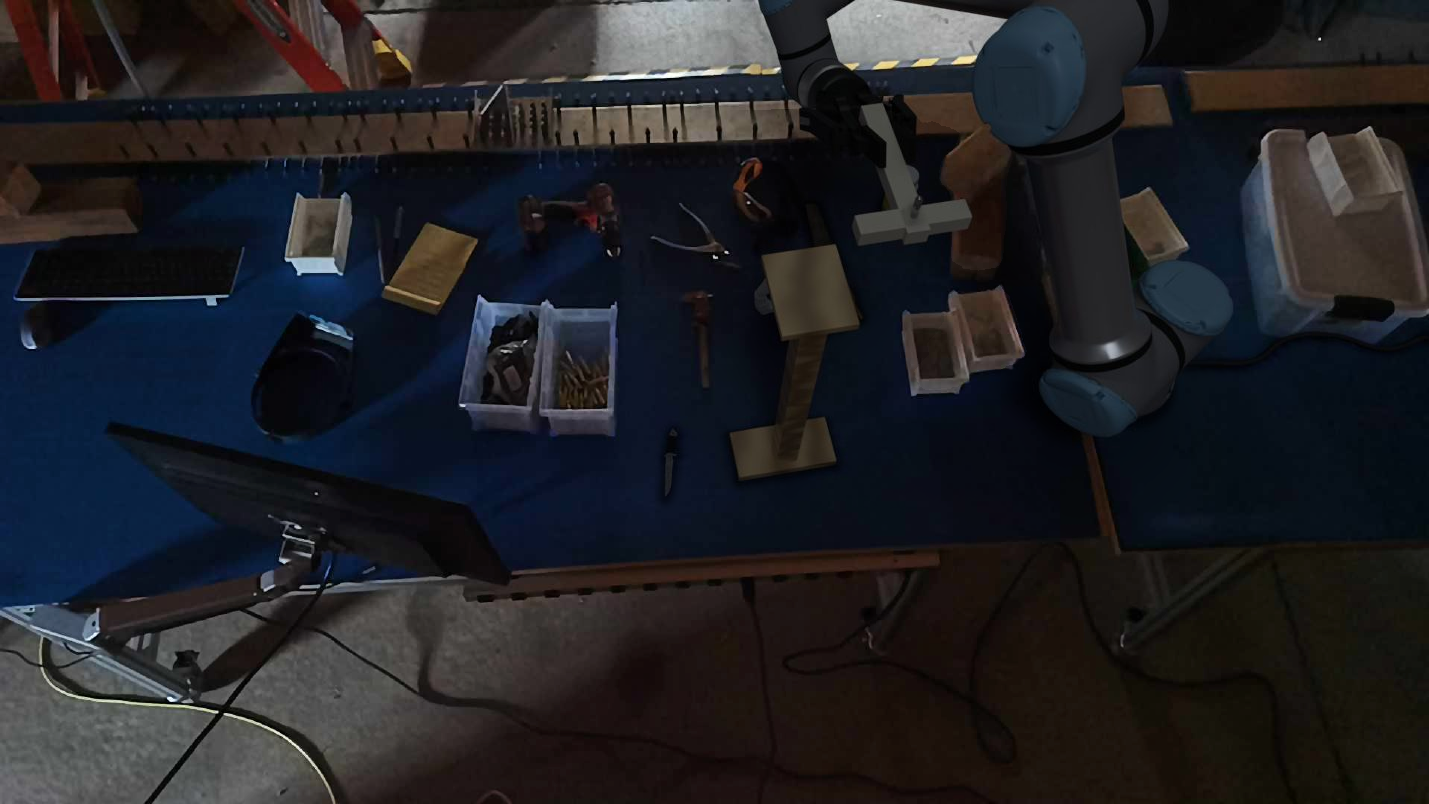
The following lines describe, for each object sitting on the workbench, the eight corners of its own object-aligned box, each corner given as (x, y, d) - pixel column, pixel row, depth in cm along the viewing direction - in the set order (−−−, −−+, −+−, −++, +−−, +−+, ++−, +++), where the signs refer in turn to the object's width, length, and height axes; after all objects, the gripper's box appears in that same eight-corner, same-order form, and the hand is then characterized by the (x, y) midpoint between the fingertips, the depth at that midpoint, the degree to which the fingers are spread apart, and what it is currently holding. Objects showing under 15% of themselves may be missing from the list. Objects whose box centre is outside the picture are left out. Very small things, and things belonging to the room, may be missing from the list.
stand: (819, 405, 127) (863, 239, 91) (836, 468, 122) (889, 319, 86) (726, 421, 125) (733, 259, 90) (739, 484, 121) (752, 341, 85)
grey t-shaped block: (919, 110, 99) (929, 75, 94) (970, 234, 91) (983, 203, 86) (817, 124, 98) (822, 90, 93) (859, 252, 90) (867, 221, 85)
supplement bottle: (894, 225, 141) (905, 191, 134) (875, 206, 143) (884, 172, 135) (916, 211, 143) (927, 176, 135) (897, 193, 144) (907, 158, 137)
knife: (668, 497, 120) (668, 496, 120) (655, 495, 120) (655, 494, 120) (682, 431, 125) (682, 430, 124) (669, 429, 125) (669, 428, 124)
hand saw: (789, 208, 143) (790, 206, 142) (816, 203, 143) (816, 200, 143) (835, 329, 132) (835, 326, 132) (863, 322, 133) (864, 320, 132)
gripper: (892, 118, 113) (966, 177, 94) (776, 135, 112) (826, 198, 92) (894, 58, 109) (971, 106, 89) (773, 75, 107) (825, 128, 88)
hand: (897, 153), depth 91 cm, fingers closed on grey t-shaped block, 2 cm apart
